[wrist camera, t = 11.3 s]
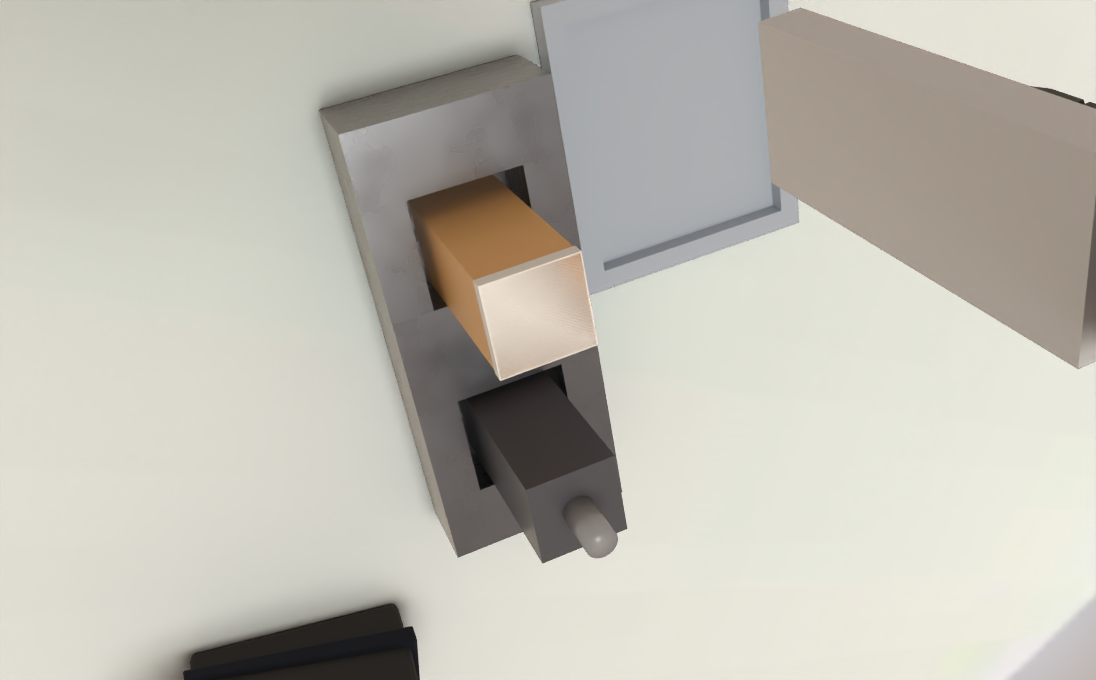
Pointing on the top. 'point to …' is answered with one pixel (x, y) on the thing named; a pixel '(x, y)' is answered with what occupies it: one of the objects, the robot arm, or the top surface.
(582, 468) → the twin plug
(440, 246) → the plug
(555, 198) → the slotted metal block
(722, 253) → the top surface
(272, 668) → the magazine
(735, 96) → the tray
